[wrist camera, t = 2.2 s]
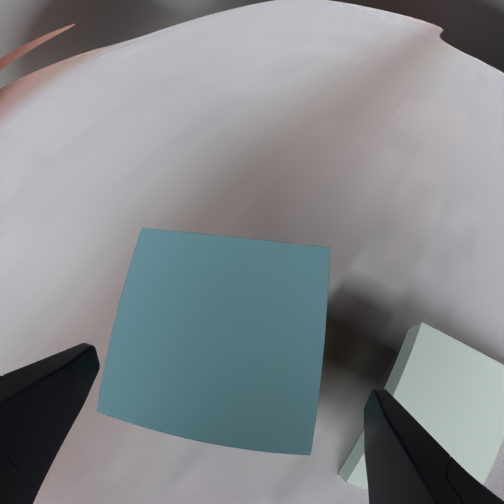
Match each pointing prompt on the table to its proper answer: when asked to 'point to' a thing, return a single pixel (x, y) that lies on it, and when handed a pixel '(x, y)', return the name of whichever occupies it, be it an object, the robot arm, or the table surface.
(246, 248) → the teal pillar
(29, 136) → the table surface
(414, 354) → the base tile
